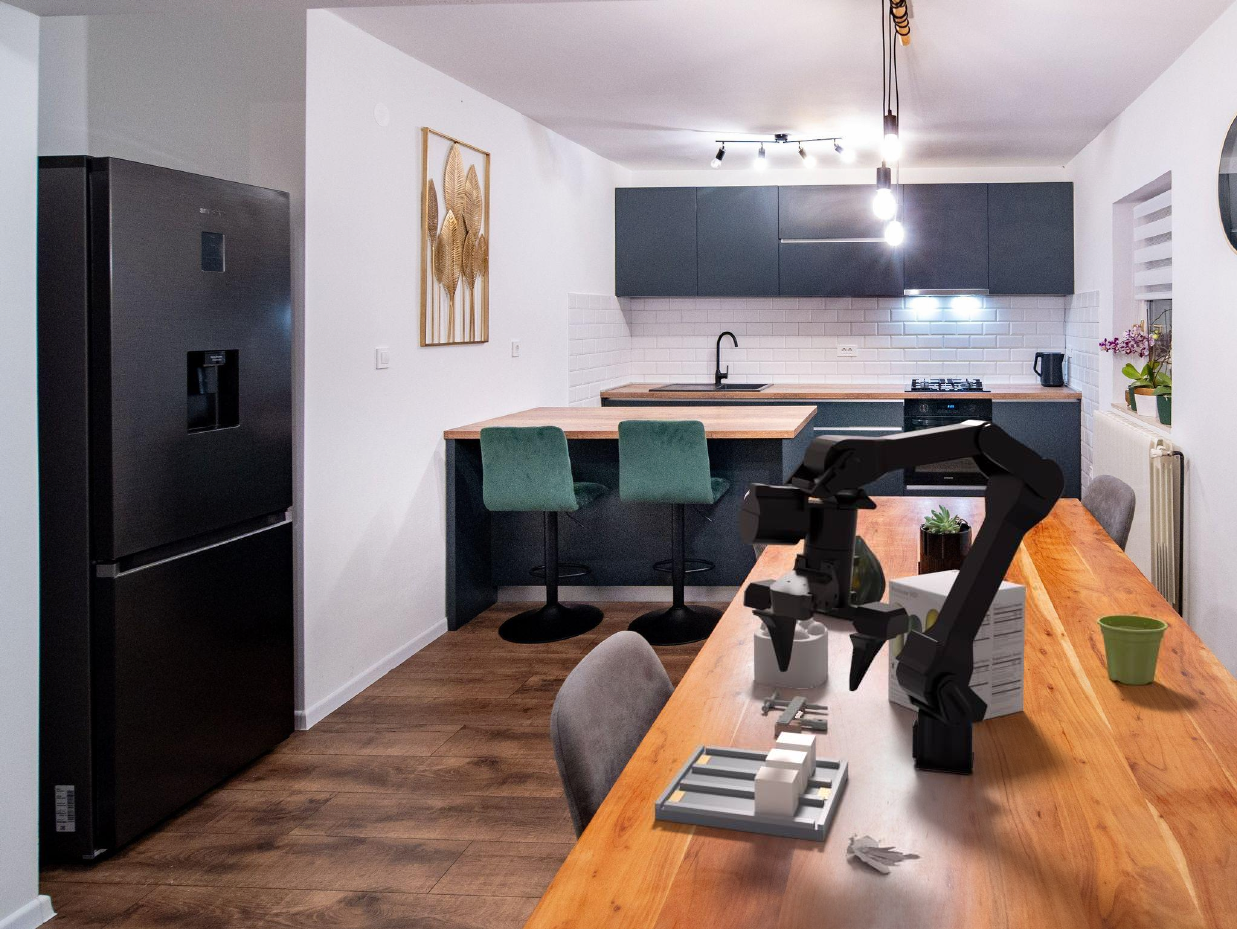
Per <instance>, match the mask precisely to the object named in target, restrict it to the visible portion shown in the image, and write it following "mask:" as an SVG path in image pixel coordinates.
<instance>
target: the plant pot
mask: <svg viewBox="0 0 1237 929" xmlns="http://www.w3.org/2000/svg"><path fill="white" fill-rule="evenodd" d="M1096 622H1097V625H1098V626H1099V628H1100V632H1101V634H1102V638H1103V645H1104V652H1105V658H1106V659H1105V661H1106V668H1107V676H1108V678H1109V679H1110V680H1112V681H1119V682H1120V683H1122V684H1124V685H1133V686H1134V685H1135V686H1137V685H1138V686H1142V685H1147V684H1148V683H1151V684H1152V683H1154V682H1155V675H1156V669H1157V665H1158V659H1159V652H1160V648H1161V643H1162V639H1163V638H1164V636H1165V631H1166V630H1167V629H1168V628H1169V626H1168V624H1167V623H1166V622H1165V621H1163V620H1161V619H1158V618H1155V617H1154V618H1153V617H1149V616H1142V615H1134V614H1133V615H1132V614H1111V615H1109V614H1108V615H1104V616H1100V617H1099V618H1097V619H1096Z"/></svg>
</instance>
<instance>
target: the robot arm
mask: <svg viewBox="0 0 1237 929" xmlns="http://www.w3.org/2000/svg"><path fill="white" fill-rule="evenodd" d="M967 458H969V459H970V460H971V462H972V464H973V465H974V467H975V469H976V470H977V471H978V472H980V474H982V475H983V476H984V477H985V478H986V479H987V480H988V481H987V483H986V486H985V490H984V494H983V495H984V510H985V511H984V512H985V514H984V519H983V521H982V523H981V525H980V527H979V530H978V531H977V534H976V536H975V538H974V540H973V542H972V544H971V546H970V548H969V551H968V553H967V554H966V557H965V559H964V561H963V563H962V565H961V566H960V569H959V570H958V571H959V573H958V575H957V577H956V579H955V581H954V583H953V585H952V587H951V590H950V592H949V594H948V596H947V598H946V600H945V602H944V604H943V606H942V608H941V610H940V612H939V614H938V617H937V619H936V621H935V622H934V624H933V625H932V626H931V627H929V628H928V629H927V630H926V631H924V632H923V633H922V634H921V633H919V632H916V631H914V630H911V631H910V632H909V634H908V635H907V639H906V642H905V645H904V647H903V649H902V651H901V652H900V653H899V654H898V655H897V656H896V657H895V659H896V660H898V661H899V662H898V665H897V668H896V677H897V680H898V683H899V685H900V687H901V688H902V690H903V691H905V692H906V693H907V696H908V699H909V701H910V704H912V705H915V706H917V707H918V708H919V711H918V712H917V718H914V720H913V723H912V735H911V736H912V738H911V742H912V743H911V744H912V747H911V749H912V750H911V753H912V754H911V755H912V756H911V757H912V758H913V759H915V763H914V768H916V769H917V770H926V771H935V772H943V773H952V774H953V773H955V774H961V775H962V774H963V775H972V774H973V772H974V763H975V752H974V725H975V724H977V723H978V724H979V723H982V722H984V720H985V719H984V716H985V713H986V710H987V707H988V706H987V704H986V703H985V702H984V701H983V700H982V699H981V698H980V697H979V696H978V695H977V694H976V693H975V692H974V691H973V690H972V689H971V688H970V687H969V684H970V680H971V677H972V674H973V671H974V658H973V643H974V640H975V638H976V635H977V633H978V631H979V629H980V627H981V625H982V623H983V621H984V619H985V617H986V615H987V613H988V610H989V608H990V606H991V604H992V602H993V600H994V598H995V596H996V594H997V592H998V590H999V588H1000V585H1001V583H1002V581H1004V579H1005V577H1006V575H1007V573H1008V571H1009V569H1010V567H1011V564H1012V563H1013V561H1014V558H1015V556H1016V555H1017V552H1018V550H1019V548H1020V546H1021V544H1022V541H1023V539H1024V537H1025V536H1026V535H1027V533H1028V532H1030V531H1031V530H1032V529H1033V528H1035V527H1036V526H1037V525H1038V524H1040V523H1041V522H1043V521H1044V520H1045V519H1046V518H1047V517H1048V516H1049V515H1050V513H1051V512H1052V510H1053V509H1054V507H1055V506H1056V505H1057V503H1058V502H1059V500H1060V498H1061V497H1062V495H1063V493H1064V491H1065V487H1066V479H1065V478H1064V474H1063V470H1062V469H1061V467H1060V465H1059V464H1058V463H1057V462H1056V461H1054V460H1052V459H1051V458H1046V457H1042V456H1041V455H1040V454H1039V453H1038V452H1037V451H1035V450H1033V449H1032V448H1031V447H1029V446H1027V445H1026V444H1024V443H1023V442H1020V441H1019V440H1017V439H1016V438H1015V437H1013V436H1011V435H1010V434H1009V433H1008V432H1006V431H1005V430H1004V429H1003V428H1002V427H1001V426H999V425H998V423H995V422H993V421H988V420H987V421H986V420H977V419H968V420H965V421H963V422H960V423H955V424H949V425H945V426H938V427H932V428H931V427H930V428H926V429H920V430H913V431H907V432H902V433H895V434H890V435H883V436H860V435H842V434H841V435H838V434H837V435H836V434H835V435H834V434H831V435H830V434H823V435H819V436H817V437H814V438H813V439H812V440H811V441H810V443H809V445H808V446H807V448H806V449H805V451H804V455H803V459H802V460H801V462H800V463H799V464H798V465H797V467H796V468H795V469H794V470H793V471H792V473H791V474H790V475H789V476H788V478H787V479H786V481H785V482H784V483H783V484H782V485H768V484H763V483H760V482H759V483H756V482H755V483H754V482H751V483H750V484H749V487H748V488H749V490H748V493H747V495H746V496H745V497H744V499H743V501H742V504H741V507H740V508H741V509H738V530H739V535H740V538H741V541H742V542H743V543H744V544H745V545H752V546H753V545H757V546H760V545H762V546H765V545H766V546H788V547H789V546H790V547H791V546H793V547H794V546H797V545H798V544H799V543H800V542H801V540H803V549H802V552H800V553H796V558H795V559H794V565H793V568H792V570H791V571H790V572H787V573H785V574H783V575H782V576H781V577H779V578H778V579H772V578H770V579H765V580H758V581H757V580H756V581H753V582H752V581H751V582H750V583H749V584H748V585H747V587H746V588H745V590H744V591H743V602H742V603H743V606H744V607H746V608H751V609H752V610H751V613H752V615H753V616H756V617H758V618H759V619H760V620H761V622H762V621H763V622H764V623H765V625H766V626H767V628H768V631H769V634H770V637H771V640H772V643H773V647H774V651H775V655H776V659H777V662H778V666H779V670H780V672H786V671H787V670H788V667H789V663H790V659H791V653H792V647H793V640H794V634H795V628H796V621H797V620H799V621H806V620H809V619H811V618H814V615H816V614H817V615H821V616H825V617H830V618H834V619H839V620H842V621H843V620H844V621H847V622H851V624H852V627H853V629H854V630H855V631H856V632H853V633H850V634H849V635H848V636H849V639H850V642H851V644H852V653H851V660H850V670H849V675H848V676H849V678H848V690H849V692H855V691H857V690H858V688H859V686H860V685H861V683H862V682H863V679H864V678H865V676H866V674H867V673H868V670H869V669H870V666H871V665H872V663H873V662H874V660H875V658H876V656H877V655H878V653H879V652H880V651H881V649H882V648H883V646H884V645H885V644H886V642H887V641H889V640H890V639H894V638H896V637H897V635H900V634H904V633H908V630H909V620H910V618H909V615H908V613H907V611H906V609H905V607H900V606H896V605H891V604H889V603H885V602H881V601H880V602H873V603H869V604H864V605H860V606H856V605H852V604H850V602H853V601H856V592H853V591H851V585H852V574H853V566H859V559H860V557H857V556H854V552H855V539H856V536H857V527H858V515H859V510H866V511H867V510H868V511H874V510H876V509H877V508H878V505H877V504H876V502H875V501H874V500H873V499H871V497H870V496H869V495H868V494H867V492H866V489H865V488H863V487H864V486H866V485H870V484H871V483H874V482H877V481H878V480H880V479H881V478H883V477H884V476H886V475H888V474H890V473H892V472H895V471H898V470H905V469H909V468H910V469H911V468H917V467H922V466H926V465H933V464H938V463H944V462H949V461H954V460H962V459H967ZM842 491H846V492H842ZM810 498H811V499H810ZM831 608H832V609H838V611H836V610H832V609H831ZM983 719H984V720H983Z"/></svg>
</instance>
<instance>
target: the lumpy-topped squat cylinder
mask: <svg viewBox="0 0 1237 929" xmlns="http://www.w3.org/2000/svg"><path fill="white" fill-rule="evenodd" d="M827 676H829V629H828V628H827V627H826V626H825V625H824V624H823V623H822V622H819V621H815V620H814V617H812V618H811V619H809V620H806V621H799V620H797V621H796V628H795V634H794V640H793V647H792V653H791V659H790V663H789V667H788V670H787V671H786V672H780V670H779V666H778V662H777V659H776V655H775V651H774V647H773V643H772V640H771V637H770V634H769V631H768V628H767V626H766V625H765V623H764V622H763V621H762V620H761V624H760V627H758V628H757V629H756V630H755V631H754V633H753V679H754V681H755V682H756V683H757V684H759V685H762V686H770V685H772V686H773V687H784V688H788V689H795V688H808V689H812V688H811V687H813V688H816V687H818V686H820V685H821V684H822V683H824V682H825V681H826V680H825V679H827V678H828V677H827ZM824 680H825V681H824ZM823 681H824V682H823ZM819 684H820V685H819ZM817 685H818V686H817ZM790 687H791V688H790Z"/></svg>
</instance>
